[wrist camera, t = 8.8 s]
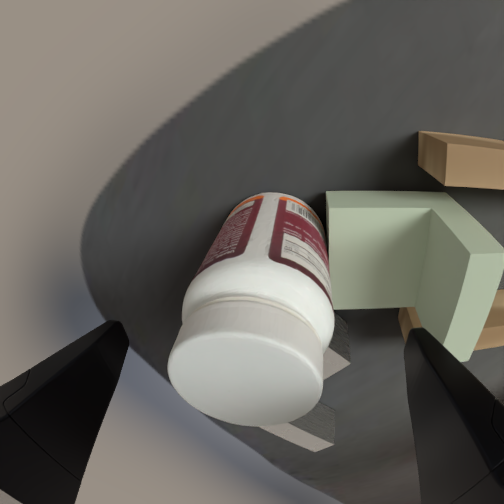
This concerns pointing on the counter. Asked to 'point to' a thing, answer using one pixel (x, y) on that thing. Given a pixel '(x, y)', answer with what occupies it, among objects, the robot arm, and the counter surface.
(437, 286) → the block
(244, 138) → the counter surface
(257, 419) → the pill bottle
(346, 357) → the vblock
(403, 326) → the channel
